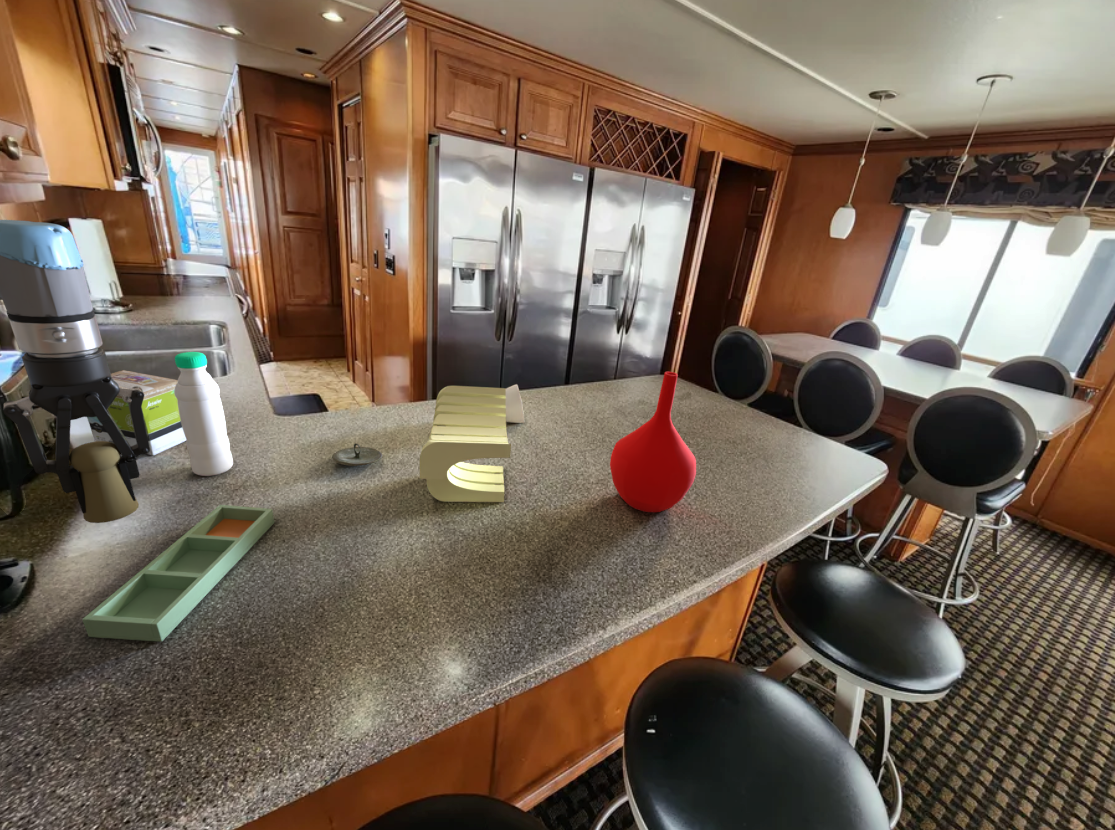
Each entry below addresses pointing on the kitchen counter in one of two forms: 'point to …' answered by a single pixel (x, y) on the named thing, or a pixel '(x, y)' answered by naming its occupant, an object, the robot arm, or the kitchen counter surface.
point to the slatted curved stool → (466, 445)
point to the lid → (357, 456)
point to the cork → (102, 482)
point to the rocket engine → (514, 405)
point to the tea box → (145, 412)
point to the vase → (654, 459)
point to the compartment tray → (179, 576)
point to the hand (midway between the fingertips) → (109, 502)
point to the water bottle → (202, 416)
